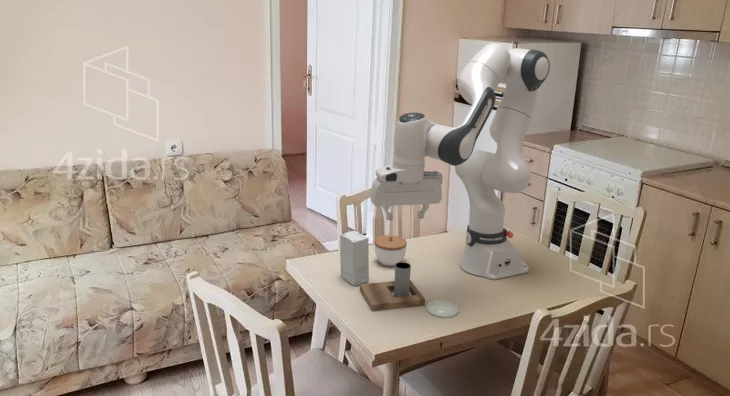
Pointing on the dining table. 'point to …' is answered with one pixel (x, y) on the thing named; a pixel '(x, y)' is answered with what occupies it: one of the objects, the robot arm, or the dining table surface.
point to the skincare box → (354, 257)
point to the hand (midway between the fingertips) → (405, 218)
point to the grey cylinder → (402, 279)
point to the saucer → (442, 308)
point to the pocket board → (389, 296)
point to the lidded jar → (390, 249)
